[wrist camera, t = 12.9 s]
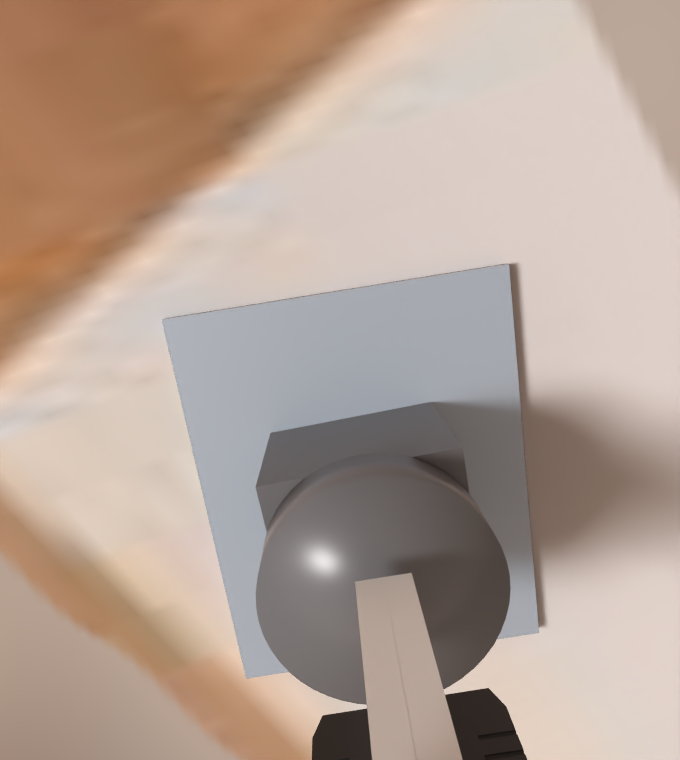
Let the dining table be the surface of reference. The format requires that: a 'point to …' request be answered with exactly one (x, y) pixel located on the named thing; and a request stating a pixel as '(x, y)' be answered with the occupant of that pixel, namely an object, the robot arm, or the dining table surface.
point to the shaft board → (354, 407)
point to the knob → (373, 544)
